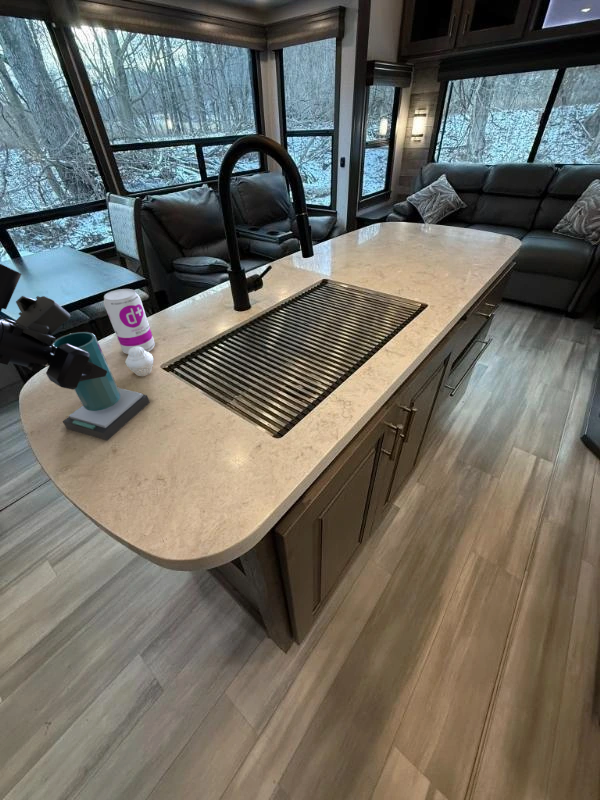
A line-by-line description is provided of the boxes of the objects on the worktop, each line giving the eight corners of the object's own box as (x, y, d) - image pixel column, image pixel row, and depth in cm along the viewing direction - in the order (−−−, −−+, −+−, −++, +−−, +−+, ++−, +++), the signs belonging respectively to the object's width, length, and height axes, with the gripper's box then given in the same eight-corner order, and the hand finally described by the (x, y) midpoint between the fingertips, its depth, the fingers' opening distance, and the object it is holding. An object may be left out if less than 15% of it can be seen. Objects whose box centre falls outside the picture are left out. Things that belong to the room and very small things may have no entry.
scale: (107, 440, 62) (101, 430, 60) (67, 429, 65) (60, 419, 63) (149, 402, 71) (146, 392, 69) (112, 393, 73) (108, 384, 72)
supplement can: (160, 349, 89) (143, 294, 79) (130, 360, 84) (108, 303, 75) (148, 338, 93) (130, 285, 84) (118, 349, 89) (96, 294, 80)
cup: (112, 410, 62) (83, 350, 54) (76, 411, 62) (42, 351, 54) (125, 389, 68) (101, 331, 60) (92, 390, 68) (64, 332, 60)
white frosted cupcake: (143, 382, 76) (134, 356, 72) (124, 376, 79) (113, 350, 74) (163, 369, 81) (154, 343, 76) (144, 363, 83) (135, 338, 79)
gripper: (45, 300, 44) (143, 341, 58) (-13, 275, 52) (85, 316, 66) (11, 377, 44) (117, 399, 58) (-41, 340, 52) (63, 368, 66)
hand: (95, 367), depth 62 cm, fingers closed on cup, 7 cm apart
